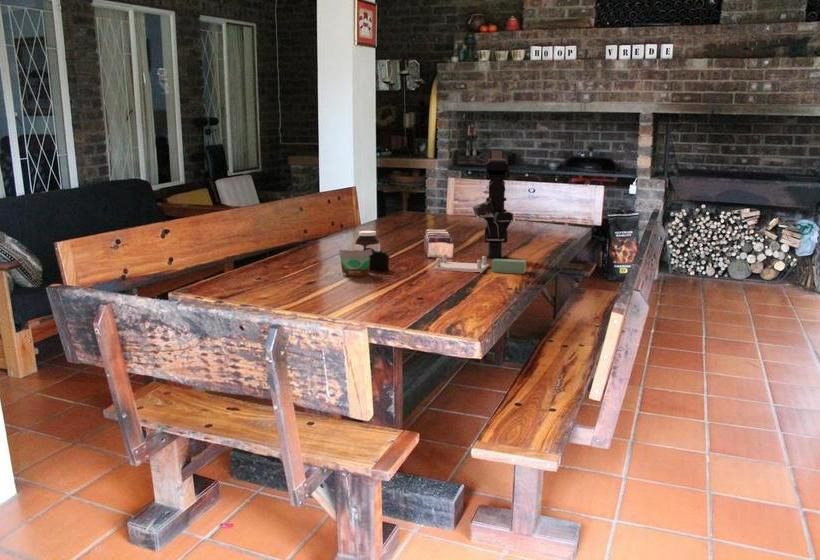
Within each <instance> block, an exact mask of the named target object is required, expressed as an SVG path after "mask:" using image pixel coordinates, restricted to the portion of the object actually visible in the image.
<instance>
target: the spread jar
mask: <svg viewBox="0 0 820 560" xmlns="http://www.w3.org/2000/svg"><path fill="white" fill-rule="evenodd" d="M354 243H355V244H354V245H353V246H352V247H351V248H350V250H349V251H352V250H361V251H362V250H363V249H364V248H372V249H373V250H375V251H379V252H380V251H381V242H380V239H379V238H378V237H377V231H375V230H359V231H358V237H357V238H356V240H355V242H354Z"/></svg>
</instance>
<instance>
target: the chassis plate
mask: <svg viewBox="0 0 820 560" xmlns="http://www.w3.org/2000/svg"><path fill="white" fill-rule="evenodd" d="M441 256H442V258H440V257H437V258H435V259H436V262H435V263H436V265H435V266H434V267H433V269H434V270H436V271H437V270H438V271H439V270H440V271H448V272H449V271H452V272H463V273H473V272H480V273H479V274H483V272H484V271H485V270H486V269H487V268H488V267H489V263H487V258H486V256H487V255H486V256H485V255H482V257H481V259H477V260H476V263H475V262H454V261H453V262H452V261H447V258H448V257H447V256H448V255H447V254H442V255H441ZM441 260H442V262H441Z"/></svg>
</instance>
